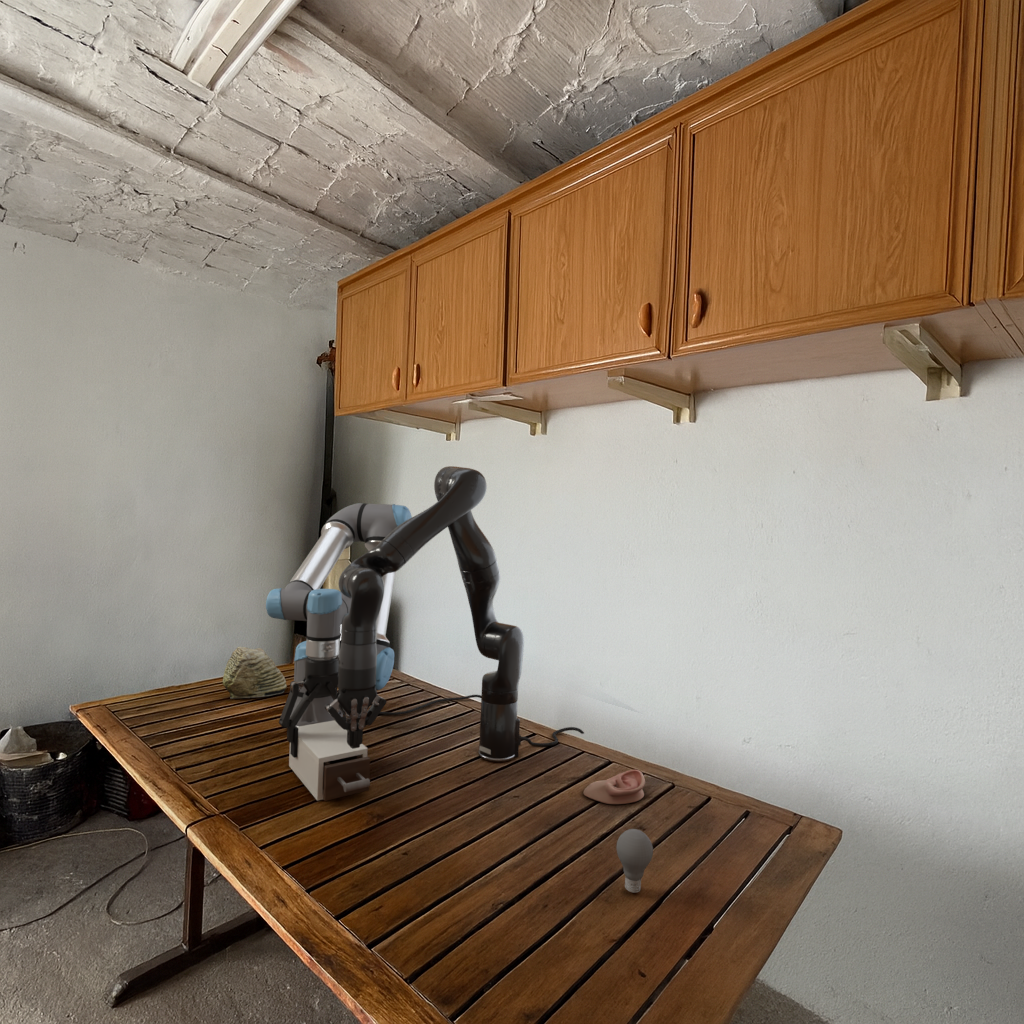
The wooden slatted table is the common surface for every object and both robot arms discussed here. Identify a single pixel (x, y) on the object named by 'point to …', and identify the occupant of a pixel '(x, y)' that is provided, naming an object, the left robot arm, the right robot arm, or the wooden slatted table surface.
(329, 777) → the drawer
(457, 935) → the wooden slatted table surface
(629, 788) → the anatomical model
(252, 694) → the fossil
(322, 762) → the cabinet
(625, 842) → the light bulb
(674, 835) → the wooden slatted table surface
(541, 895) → the wooden slatted table surface
